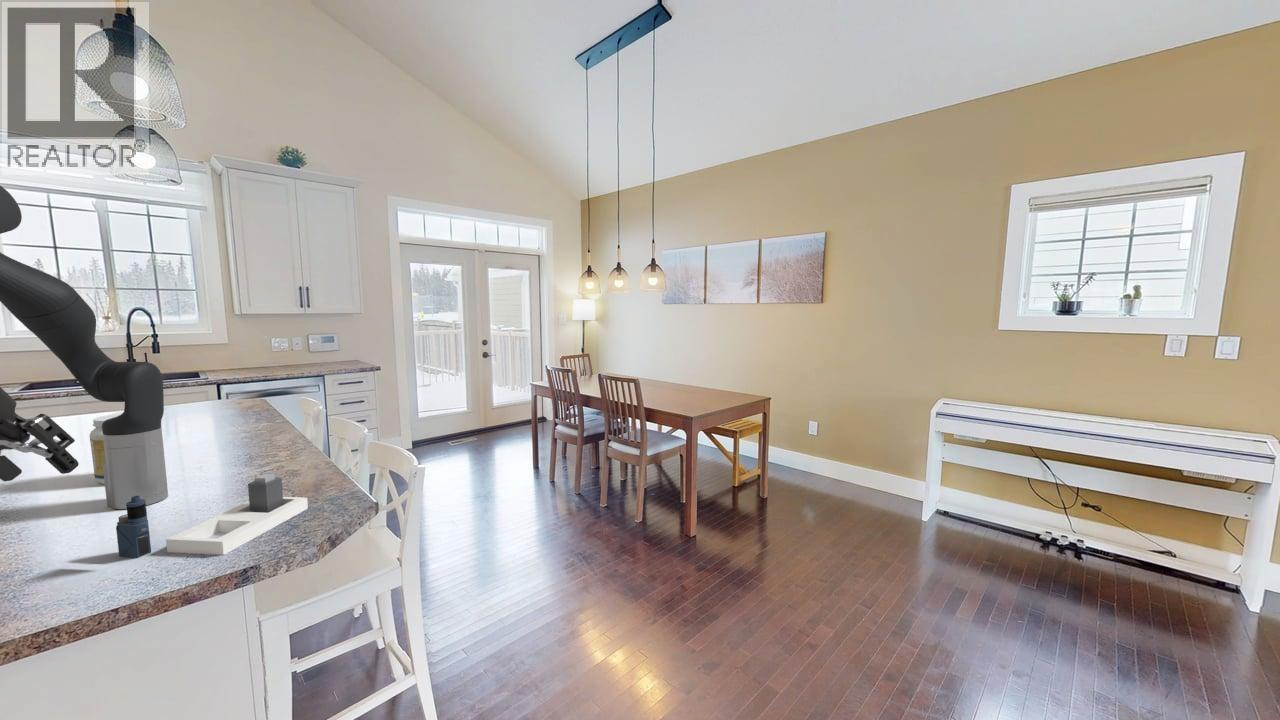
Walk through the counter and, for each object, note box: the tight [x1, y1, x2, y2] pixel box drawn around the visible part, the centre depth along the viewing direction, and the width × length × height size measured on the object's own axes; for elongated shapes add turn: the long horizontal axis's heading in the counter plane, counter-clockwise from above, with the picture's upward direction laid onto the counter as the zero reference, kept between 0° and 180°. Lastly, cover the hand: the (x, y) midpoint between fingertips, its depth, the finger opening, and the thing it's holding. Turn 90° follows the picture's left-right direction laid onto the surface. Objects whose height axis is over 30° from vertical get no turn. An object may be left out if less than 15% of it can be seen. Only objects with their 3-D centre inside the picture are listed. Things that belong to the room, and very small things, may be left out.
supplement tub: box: [89, 412, 123, 485], centre depth 123 cm, size 12×12×17 cm
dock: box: [165, 496, 309, 556], centre depth 95 cm, size 20×11×4 cm, turn 177°
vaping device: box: [115, 496, 152, 559], centre depth 84 cm, size 3×5×12 cm, turn 79°
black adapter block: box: [247, 473, 284, 513], centre depth 100 cm, size 4×4×9 cm
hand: (43, 473), depth 73 cm, fingers open, 8 cm apart
